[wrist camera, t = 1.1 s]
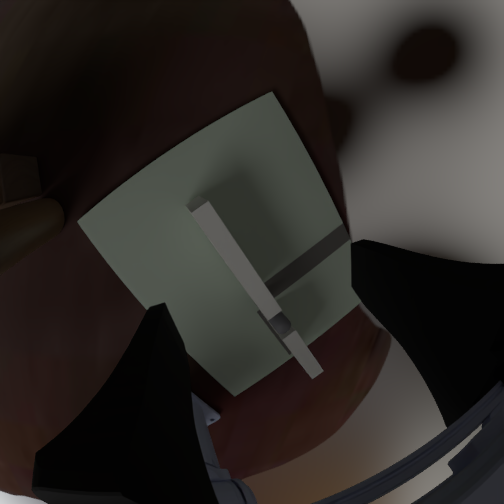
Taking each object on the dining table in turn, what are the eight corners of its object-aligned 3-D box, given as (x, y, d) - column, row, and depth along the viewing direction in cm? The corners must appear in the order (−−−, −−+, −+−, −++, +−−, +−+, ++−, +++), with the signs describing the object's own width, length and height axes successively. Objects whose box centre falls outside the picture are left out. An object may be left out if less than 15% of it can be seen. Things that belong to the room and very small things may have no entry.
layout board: (232, 391, 27) (234, 396, 27) (79, 220, 19) (77, 221, 18) (367, 289, 29) (372, 292, 29) (268, 93, 21) (272, 91, 20)
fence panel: (260, 286, 24) (282, 310, 20) (248, 295, 24) (268, 320, 20) (198, 195, 20) (208, 200, 16) (185, 205, 20) (191, 212, 16)
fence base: (289, 350, 27) (314, 381, 22) (250, 297, 24) (272, 326, 19) (299, 342, 27) (325, 372, 22) (261, 288, 24) (286, 316, 20)
